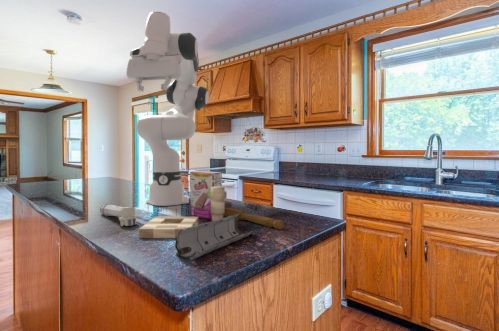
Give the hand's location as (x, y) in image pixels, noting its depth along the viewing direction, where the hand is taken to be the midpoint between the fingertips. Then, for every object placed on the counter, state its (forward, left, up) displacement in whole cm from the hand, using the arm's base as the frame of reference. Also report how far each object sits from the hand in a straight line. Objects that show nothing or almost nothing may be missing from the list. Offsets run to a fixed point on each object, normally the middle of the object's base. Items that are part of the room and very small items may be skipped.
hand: (151, 90), depth 110 cm
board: (+20, +11, -46) cm, 51 cm away
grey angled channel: (+33, +27, -46) cm, 63 cm away
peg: (+19, +25, -46) cm, 55 cm away
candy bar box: (+3, +19, -46) cm, 50 cm away
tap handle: (+8, +35, -46) cm, 58 cm away
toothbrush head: (+7, -11, -46) cm, 48 cm away
